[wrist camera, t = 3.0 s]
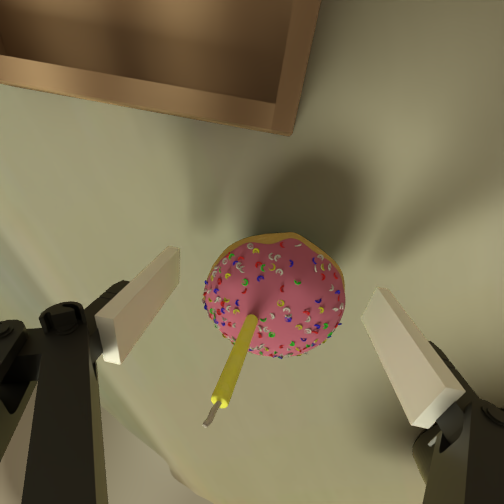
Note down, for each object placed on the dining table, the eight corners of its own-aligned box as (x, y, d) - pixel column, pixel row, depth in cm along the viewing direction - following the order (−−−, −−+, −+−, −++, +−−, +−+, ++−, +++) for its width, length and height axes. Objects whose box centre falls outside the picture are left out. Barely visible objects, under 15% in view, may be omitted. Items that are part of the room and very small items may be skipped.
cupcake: (213, 290, 20) (134, 466, 9) (235, 197, 16) (141, 307, 5) (306, 316, 20) (339, 521, 9) (349, 230, 16) (496, 407, 5)
